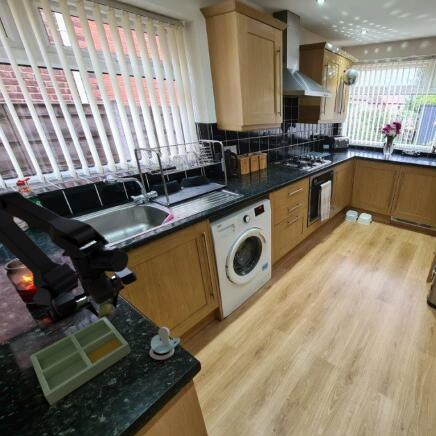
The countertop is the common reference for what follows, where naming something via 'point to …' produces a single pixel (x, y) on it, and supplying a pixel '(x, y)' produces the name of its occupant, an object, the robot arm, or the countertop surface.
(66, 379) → the green divided tray
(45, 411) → the countertop surface
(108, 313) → the lime
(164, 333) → the pacifier
